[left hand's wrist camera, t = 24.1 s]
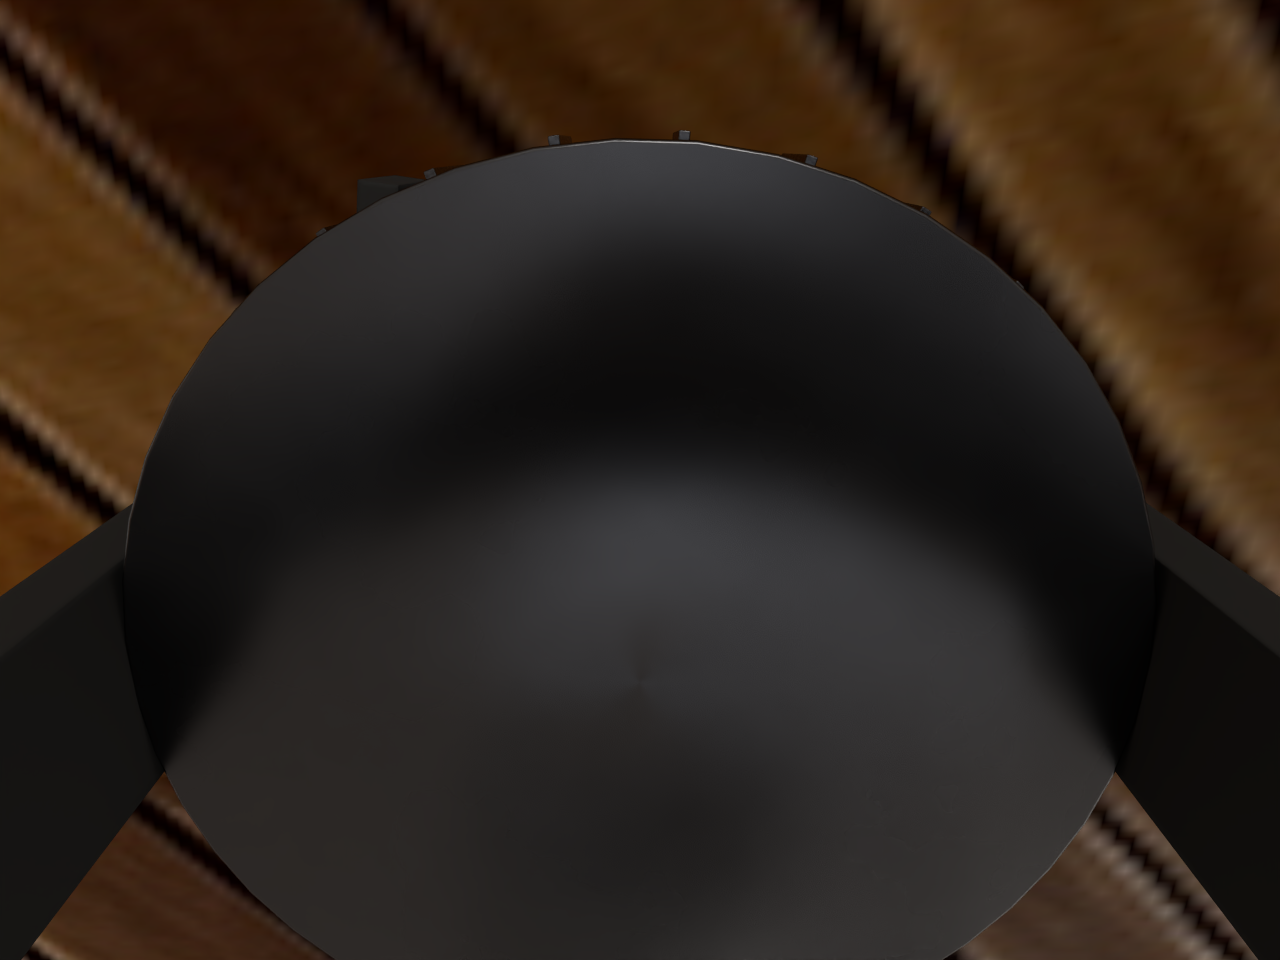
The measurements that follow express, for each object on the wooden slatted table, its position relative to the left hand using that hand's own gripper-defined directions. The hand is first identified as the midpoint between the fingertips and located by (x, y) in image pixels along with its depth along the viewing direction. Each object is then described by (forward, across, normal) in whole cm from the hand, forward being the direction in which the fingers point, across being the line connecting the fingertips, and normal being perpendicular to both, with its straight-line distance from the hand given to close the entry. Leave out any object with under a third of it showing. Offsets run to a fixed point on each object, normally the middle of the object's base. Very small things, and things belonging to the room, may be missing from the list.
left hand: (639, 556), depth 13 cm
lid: (-3, 0, 0) cm, 3 cm away
